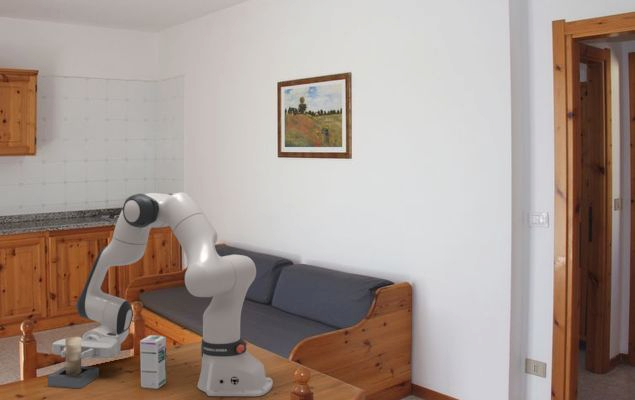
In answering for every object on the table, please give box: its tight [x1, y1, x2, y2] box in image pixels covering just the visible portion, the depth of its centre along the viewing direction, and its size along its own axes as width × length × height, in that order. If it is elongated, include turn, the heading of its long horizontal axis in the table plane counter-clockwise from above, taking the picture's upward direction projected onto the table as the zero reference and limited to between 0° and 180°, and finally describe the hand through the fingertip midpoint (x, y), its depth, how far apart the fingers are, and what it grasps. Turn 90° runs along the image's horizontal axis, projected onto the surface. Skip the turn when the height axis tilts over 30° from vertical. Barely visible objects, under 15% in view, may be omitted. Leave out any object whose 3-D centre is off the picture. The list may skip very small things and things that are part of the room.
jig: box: [47, 365, 100, 390], centre depth 191 cm, size 11×11×3 cm
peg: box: [64, 336, 82, 376], centre depth 191 cm, size 4×4×12 cm
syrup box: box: [139, 334, 168, 390], centre depth 189 cm, size 6×6×14 cm
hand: (71, 355), depth 190 cm, fingers closed on peg, 4 cm apart
